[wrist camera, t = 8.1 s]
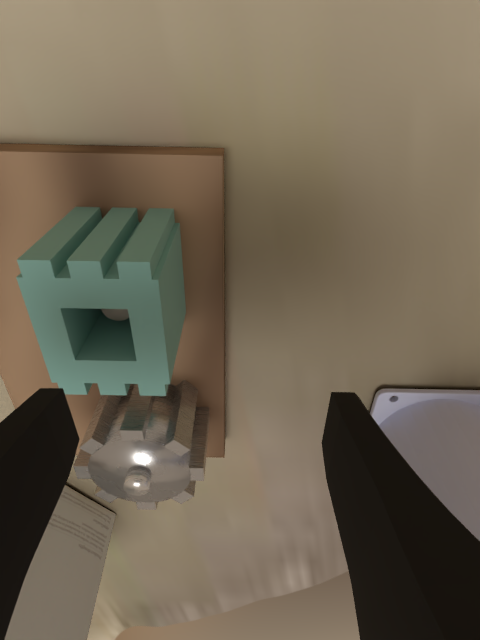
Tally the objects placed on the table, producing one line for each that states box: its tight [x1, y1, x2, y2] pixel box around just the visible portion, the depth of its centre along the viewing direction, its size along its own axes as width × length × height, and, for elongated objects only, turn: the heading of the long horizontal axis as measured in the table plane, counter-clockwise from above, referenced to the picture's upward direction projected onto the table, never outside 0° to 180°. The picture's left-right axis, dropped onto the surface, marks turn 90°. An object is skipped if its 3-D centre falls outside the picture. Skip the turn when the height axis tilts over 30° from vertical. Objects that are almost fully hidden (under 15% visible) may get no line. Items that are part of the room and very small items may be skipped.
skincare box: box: [5, 485, 116, 640], centre depth 24 cm, size 8×6×15 cm
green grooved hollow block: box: [16, 207, 186, 396], centre depth 15 cm, size 4×6×5 cm
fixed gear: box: [73, 380, 210, 510], centre depth 21 cm, size 6×6×5 cm
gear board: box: [0, 144, 225, 457], centre depth 19 cm, size 12×18×4 cm, turn 179°
